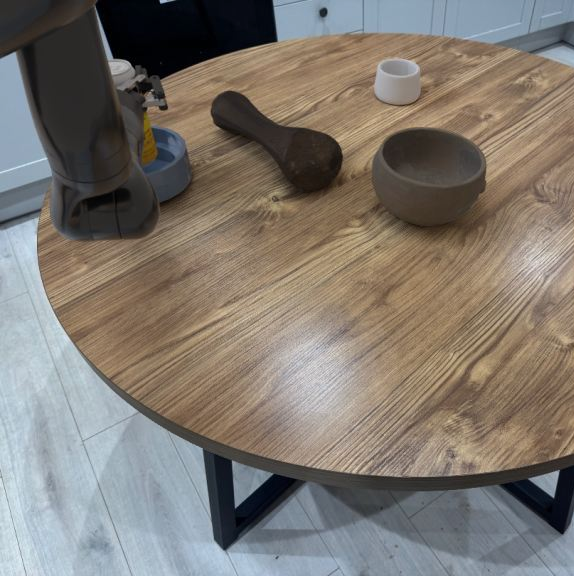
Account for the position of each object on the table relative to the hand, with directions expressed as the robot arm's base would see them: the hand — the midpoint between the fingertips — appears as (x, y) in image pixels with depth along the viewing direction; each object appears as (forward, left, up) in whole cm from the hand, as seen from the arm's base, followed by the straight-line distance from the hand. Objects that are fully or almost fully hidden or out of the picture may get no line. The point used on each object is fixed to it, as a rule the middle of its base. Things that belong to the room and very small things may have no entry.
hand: (115, 73), depth 83 cm
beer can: (+1, -2, -13) cm, 13 cm away
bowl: (+47, -7, -18) cm, 50 cm away
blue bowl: (+1, -2, -17) cm, 18 cm away
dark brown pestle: (+20, +6, -18) cm, 27 cm away
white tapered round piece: (+45, +32, -18) cm, 57 cm away
